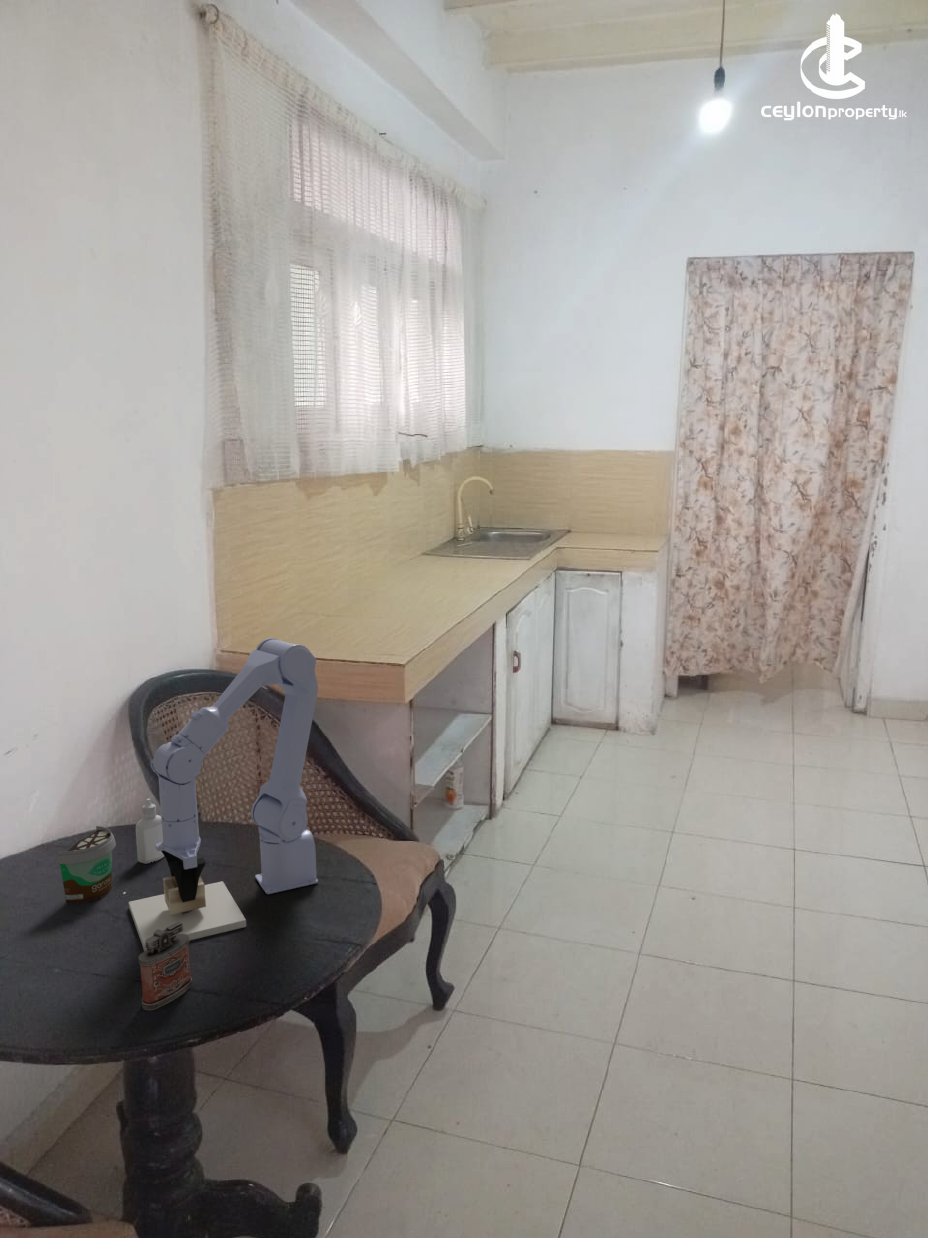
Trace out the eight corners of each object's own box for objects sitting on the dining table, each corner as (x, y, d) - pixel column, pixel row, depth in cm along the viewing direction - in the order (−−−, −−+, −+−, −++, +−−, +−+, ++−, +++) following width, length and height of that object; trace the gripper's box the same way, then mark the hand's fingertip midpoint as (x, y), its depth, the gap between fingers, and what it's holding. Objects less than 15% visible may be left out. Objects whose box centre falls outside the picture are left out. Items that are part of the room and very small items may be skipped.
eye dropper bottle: (170, 859, 177) (165, 800, 175) (139, 866, 175) (134, 805, 173) (165, 851, 181) (161, 793, 179) (135, 857, 179) (130, 798, 176)
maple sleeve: (198, 893, 158) (197, 871, 157) (205, 906, 153) (204, 884, 152) (164, 900, 156) (163, 878, 155) (171, 914, 151) (169, 891, 150)
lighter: (152, 1013, 128) (147, 946, 126) (136, 1005, 130) (131, 940, 128) (197, 985, 135) (193, 921, 133) (181, 978, 137) (177, 915, 135)
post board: (223, 887, 165) (221, 860, 165) (246, 926, 152) (244, 897, 151) (129, 908, 158) (126, 880, 157) (144, 951, 144) (142, 920, 143)
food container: (93, 910, 158) (88, 855, 156) (61, 907, 159) (55, 852, 157) (132, 878, 170) (128, 827, 168) (102, 876, 171) (98, 824, 169)
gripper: (146, 805, 156) (152, 880, 159) (162, 835, 144) (168, 917, 146) (189, 798, 159) (194, 872, 162) (208, 827, 147) (213, 906, 149)
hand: (184, 892), depth 154 cm, fingers closed on maple sleeve, 5 cm apart
